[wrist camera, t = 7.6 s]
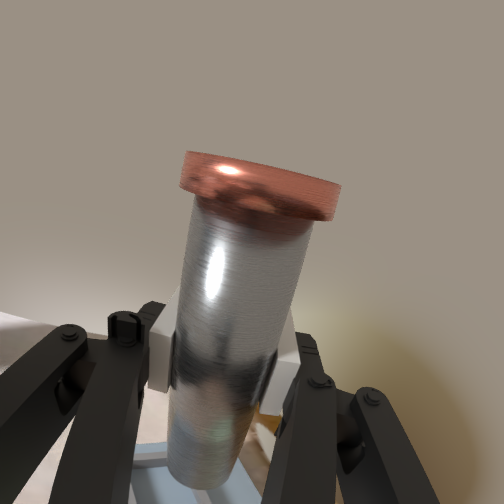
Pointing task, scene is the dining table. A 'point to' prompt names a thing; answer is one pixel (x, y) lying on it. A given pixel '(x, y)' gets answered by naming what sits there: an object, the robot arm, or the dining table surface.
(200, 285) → the pin
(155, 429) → the dining table surface
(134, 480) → the cart
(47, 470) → the dining table surface
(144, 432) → the dining table surface
